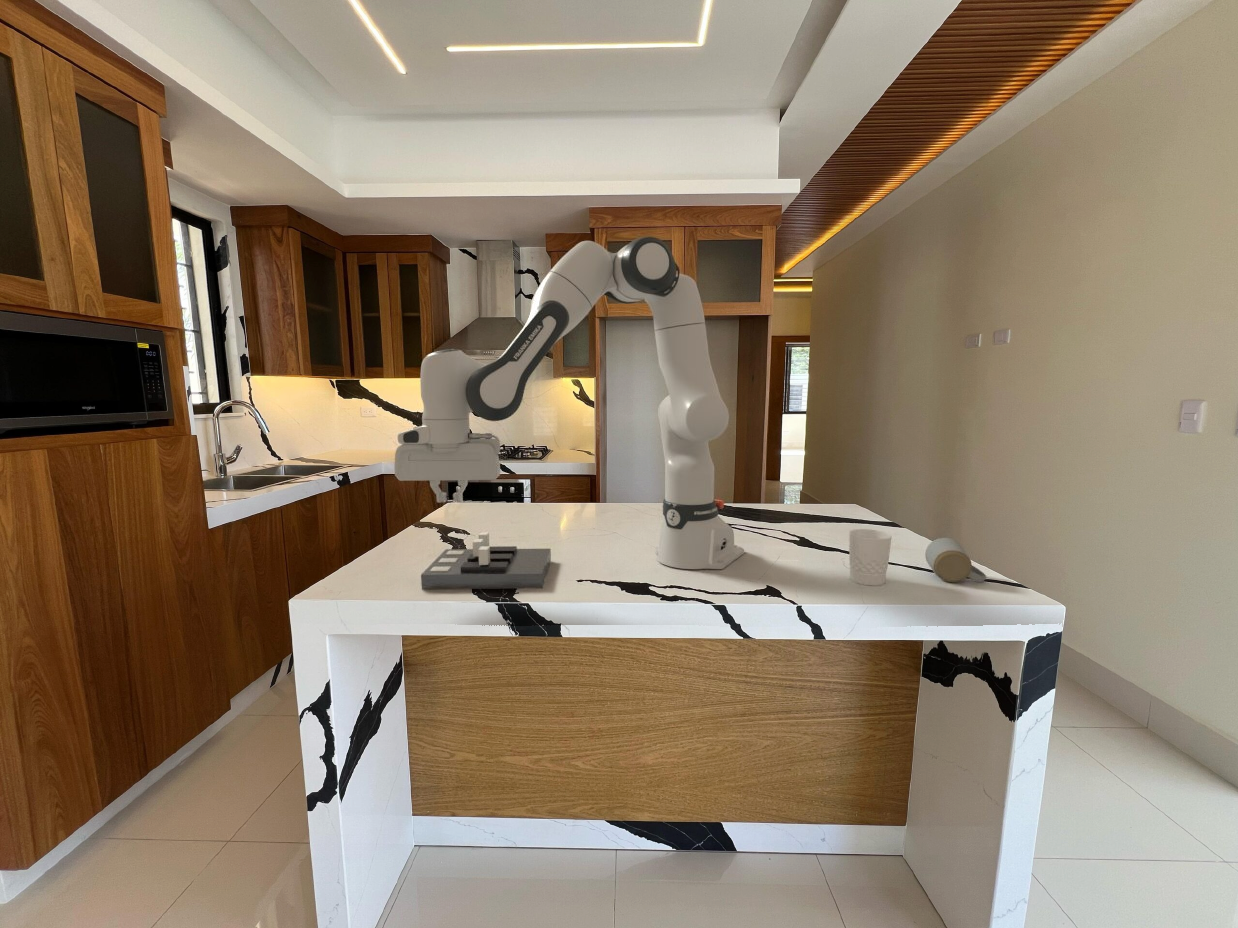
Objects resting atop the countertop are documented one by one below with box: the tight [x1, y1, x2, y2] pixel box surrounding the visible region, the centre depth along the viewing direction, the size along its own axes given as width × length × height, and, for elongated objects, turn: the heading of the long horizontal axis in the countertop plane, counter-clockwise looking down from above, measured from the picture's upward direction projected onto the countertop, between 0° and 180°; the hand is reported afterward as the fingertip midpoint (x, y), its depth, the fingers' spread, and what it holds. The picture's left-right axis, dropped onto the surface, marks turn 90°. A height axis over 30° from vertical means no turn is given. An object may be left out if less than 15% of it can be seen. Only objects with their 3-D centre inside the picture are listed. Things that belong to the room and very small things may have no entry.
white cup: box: [848, 528, 893, 587], centre depth 114 cm, size 8×8×10 cm
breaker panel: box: [420, 545, 552, 590], centre depth 119 cm, size 24×17×4 cm
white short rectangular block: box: [478, 531, 490, 546], centre depth 123 cm, size 2×2×3 cm
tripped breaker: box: [478, 545, 491, 565], centre depth 113 cm, size 2×2×3 cm
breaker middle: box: [472, 538, 484, 557], centre depth 118 cm, size 2×2×3 cm
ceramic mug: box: [924, 537, 987, 583], centre depth 115 cm, size 11×8×8 cm
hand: (449, 501), depth 111 cm, fingers closed
